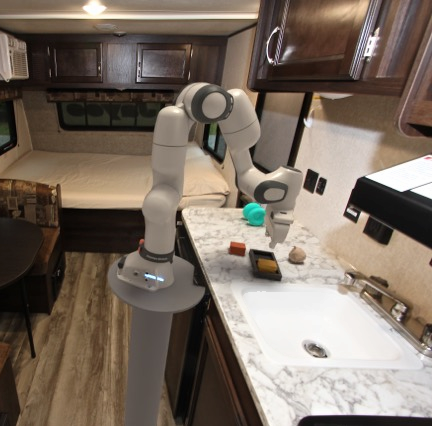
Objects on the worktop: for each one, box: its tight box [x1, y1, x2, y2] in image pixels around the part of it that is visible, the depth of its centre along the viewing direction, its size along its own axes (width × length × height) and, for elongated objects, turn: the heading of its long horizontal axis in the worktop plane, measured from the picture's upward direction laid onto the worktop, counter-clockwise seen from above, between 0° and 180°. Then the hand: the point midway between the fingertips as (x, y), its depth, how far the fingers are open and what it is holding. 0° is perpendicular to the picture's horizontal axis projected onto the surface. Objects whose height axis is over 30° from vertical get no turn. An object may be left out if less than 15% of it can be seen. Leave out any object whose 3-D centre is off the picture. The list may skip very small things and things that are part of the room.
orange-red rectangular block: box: [228, 241, 247, 257], centre depth 130 cm, size 6×4×4 cm
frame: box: [248, 248, 283, 282], centre depth 121 cm, size 10×18×3 cm, turn 163°
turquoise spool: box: [242, 202, 266, 227], centre depth 157 cm, size 10×10×10 cm
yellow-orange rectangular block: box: [257, 259, 277, 273], centre depth 117 cm, size 6×4×4 cm
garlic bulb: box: [288, 245, 307, 263], centre depth 124 cm, size 7×6×8 cm
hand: (269, 241), depth 114 cm, fingers open, 8 cm apart
